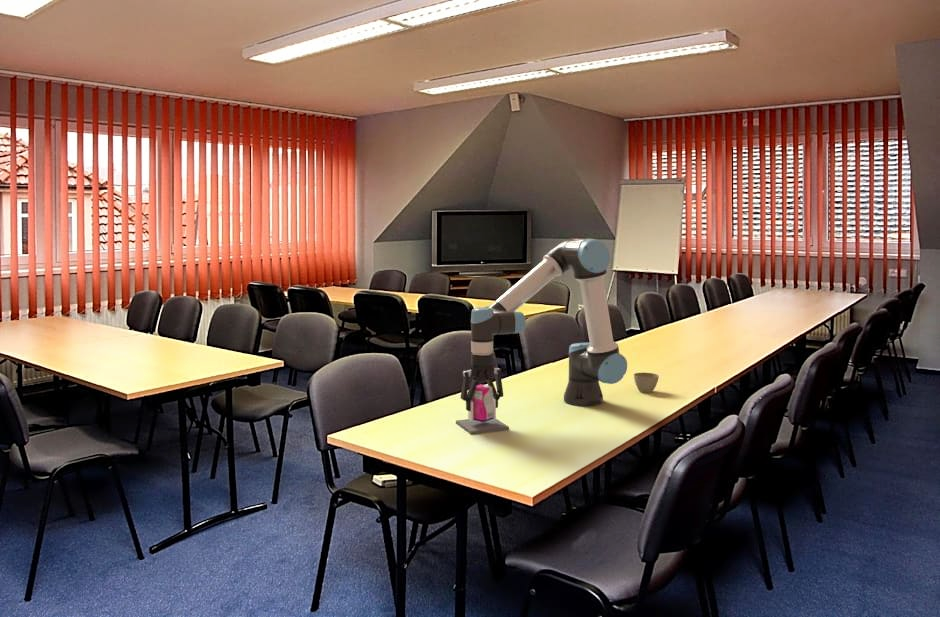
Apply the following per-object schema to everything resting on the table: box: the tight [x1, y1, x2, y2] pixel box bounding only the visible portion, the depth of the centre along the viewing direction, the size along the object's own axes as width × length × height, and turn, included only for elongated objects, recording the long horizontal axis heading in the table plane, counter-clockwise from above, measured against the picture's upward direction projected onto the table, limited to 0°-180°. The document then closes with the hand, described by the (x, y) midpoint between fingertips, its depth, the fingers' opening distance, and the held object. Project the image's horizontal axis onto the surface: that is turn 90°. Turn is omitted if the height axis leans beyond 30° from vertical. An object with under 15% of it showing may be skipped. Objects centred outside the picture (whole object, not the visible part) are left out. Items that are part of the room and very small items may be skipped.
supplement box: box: [471, 384, 494, 422], centre depth 252 cm, size 6×6×12 cm
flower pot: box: [633, 372, 660, 394], centre depth 302 cm, size 10×10×7 cm
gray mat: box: [455, 417, 510, 435], centre depth 253 cm, size 14×14×1 cm
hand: (482, 418), depth 253 cm, fingers closed on supplement box, 8 cm apart
